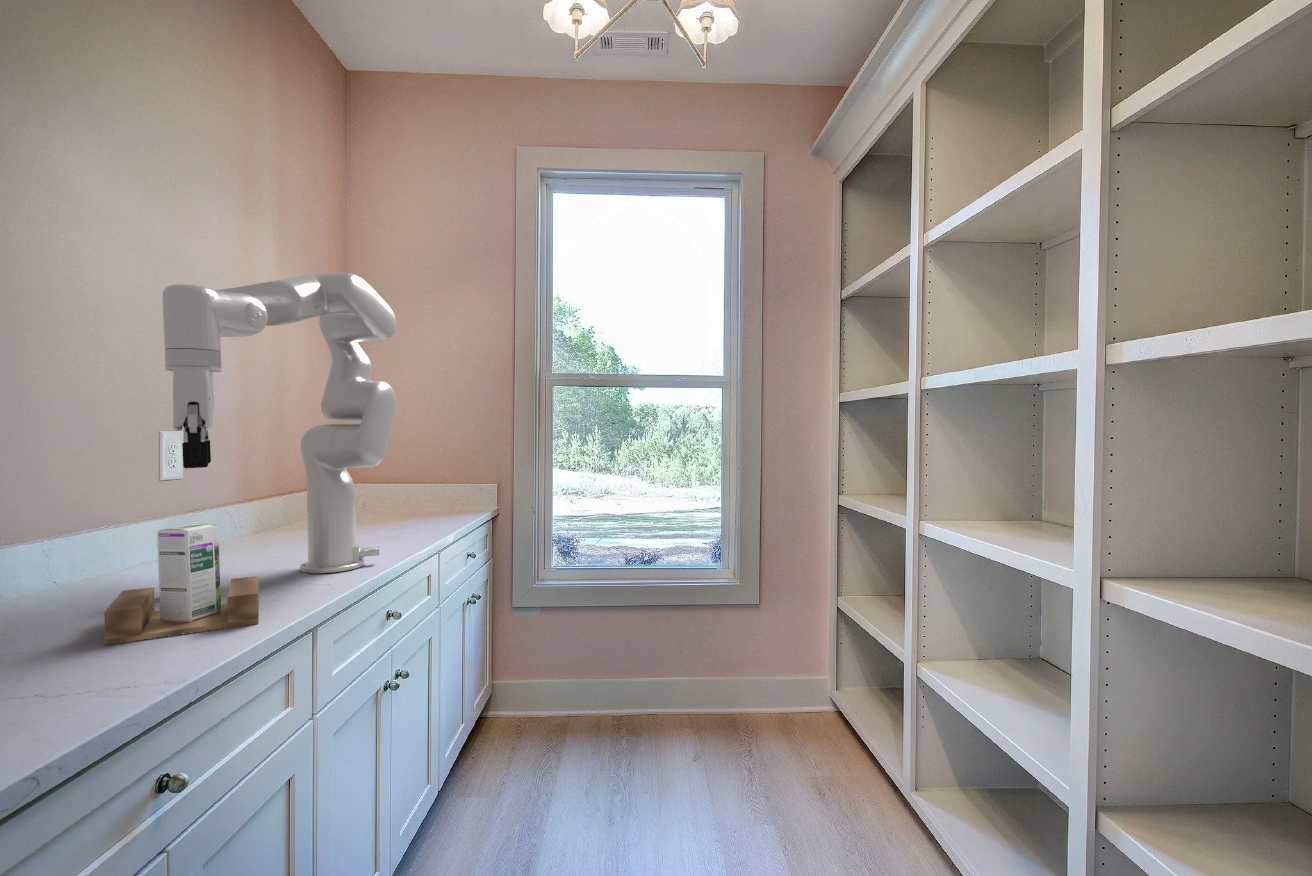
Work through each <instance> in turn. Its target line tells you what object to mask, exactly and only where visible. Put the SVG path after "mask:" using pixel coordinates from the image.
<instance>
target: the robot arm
mask: <svg viewBox="0 0 1312 876" xmlns="http://www.w3.org/2000/svg"><path fill="white" fill-rule="evenodd" d="M161 298H162V316H163V321H162V322H163V338H164V340H163V342H164V343H163V344H164V347H163V348H164V365H165V371H169V372H170V371H171V372H173V374H172V410H173V411H172V414H173V415H172V419H173V421H172V426H173V429H174V431H176V432H179V431H183V442H182V444H181V445H182V465H183V466H182V467H183V468H184V469H199V468H207V467H209V464H211V462H212V457H211V456H212V454H211V439H209V430H210V429H212V428H213V421H214V409H215V408H214V405H215V404H214V403H215V402H214V400H215V399H214V397H215V396H214V395H215V394H214V373H219V372H222V352H221V351H222V347H221V338H224V337H225V338H226V337H227V338H235V337H236V338H237V337H240V338H241V337H251V336H255V335H256V334H259V333H261V332H263V330H264V329H265V328H266V327H274V326H283V325H285V326H286V325H291V324H296V323H299V322H302V321H305V320H309V319H312V318H313V319H314V318H316V317H319V322H318V323H319V328H320V331H321V335H323V339H324V340H325V342H326V343H327V346H328V350H329V351H330V355H331V366H330V368H329V369H330V370H329V374H328V377H327V380H326V383H325V384H326V385H325V388H324V389H323V390H324V391H323V394H322V398H321V403H320V410H321V413H322V415H323V417H324V418H325V419H326V420H328V421H331V422H335V424H333V423H330V424H327V423H326V424H320V425H316V426H313V427H310V428H309V429H307V430H306V431H305V432H304V434H303V435H302V438H301V442H300V451H301V456H302V460H303V464H304V471H305V477H306V493H307V494H306V509H307V510H306V512H307V514H306V515H307V517H306V518H307V561H305V562H302V563H301V564H300V565H299V571H301V572H302V573H308V574H332V573H337V572H338V573H341V572H345V571H347V572H348V571H352V570H355V569H358V568H361V567H363V566H364V564H365V560H364V557H375V556H377V557H378V556H380V548H379V546H373V547H372V546H367V547H363V546H361V547H360V546H359V545H358V543H357V534H356V533H357V528H356V527H357V526H356V525H357V522H356V521H357V520H356V485H355V482H354V480H353V477H352V476H351V475H350V473H349V471H348V470H347V469H350V468H351V469H356V468H357V469H359V468H360V469H363V468H366V469H367V468H374V467H377V466H378V465H380V464H381V463H382V462H383V461H384V459H385V456H386V454H387V452H388V449H389V444H390V440H391V439H390V438H391V434H392V430H393V427H394V426H393V425H394V422H395V418H396V412H397V396H396V394H395V393H396V392H395V391H394V389H393V388H392V386H391V385H390V384H388V382H385V381H381V380H371V376H372V371H373V367H372V362H371V360H370V358H369V357H368V355H367V353H366V352H365V350H363V349H362V347H361V346H360V344H359V343H360V342H383V341H387V340H390V339H391V338H392V337H394V335H395V334H396V330H397V326H398V325H397V318H396V315H395V314H394V311H393V310H392V308H391V307H390V306H389V304H388V303H387V302H386V301H385V300H384V299H383V298H382V296H380V294H379V293H377V291H376V290H375V289H374V288H373V287H372V286H371V285H370V284H369V283H368V282H367V281H365V280H364V279H363V278H362V277H359V276H358V275H357V274H354V273H353V272H352V273H351V272H335V273H332V272H331V273H328V272H327V273H313V274H305V275H300V276H295V277H288V278H283V279H278V280H271V281H266V282H257V283H252V284H249V285H242V286H236V287H229V288H221V289H212V288H209V287H206V286H202V285H194V284H171V285H168V286H166V287H164V288H163V292H162V297H161ZM358 342H359V343H358ZM336 423H337V424H336ZM344 423H345V424H344ZM349 423H350V424H349ZM353 423H357V424H353ZM359 423H360V424H359Z"/></svg>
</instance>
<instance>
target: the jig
mask: <svg viewBox="0 0 1312 876" xmlns="http://www.w3.org/2000/svg"><path fill="white" fill-rule="evenodd" d="M259 592H260V591H259V575H256V576H247V577H238V578H237V577H236V578H230V582H229V587H228V592H227V597H226V598H227V599H226V600H227V601H226V602H221V611H220V612H219V613H215V614H212V615H209V616H206V617H203V618H200V619H196V620H194V621H192V622H173V621H164V620H161V619H160V610H158V611H155V587H146V588H135V589H134V588H133V589H126V590H122V591H120V593H119V594H118V595H117V597H116V598H115V599H114V600H113V601H112V602H111V603H110V604H109V606H108V607H107V608H106V609H105V611H103V613H104V614H103V615H104V616H103V617H104V646H109V645H116V644H117V645H118V644H124V643H123V642H125V643H130V642H131V641H132V642H136V641H135V640H139V641H145V640H144V639H147V640H151V639H152V638H154V639H157V638H156V637H161V638H165V637H164V636H168V635H175V636H178V635H177V634H182V633H189V634H192V633H191V632H196V633H201V632H202V631H203V632H208V631H207V630H210V631H216V629H217V630H223V629H222V628H224V629H230V628H238V627H245V626H246V627H247V626H251V625H252V626H253V625H258V624H259V619H260V618H259V614H260V613H259V611H260V610H259V609H260V608H259V605H260V603H259V602H260V598H259V595H260V594H259ZM182 635H183V634H182ZM168 637H169V636H168ZM152 640H153V639H152ZM132 642H131V643H132Z"/></svg>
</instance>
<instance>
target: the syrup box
mask: <svg viewBox="0 0 1312 876" xmlns="http://www.w3.org/2000/svg"><path fill="white" fill-rule="evenodd" d="M219 532H220V531H219V525H218V524H214V523H194V524H193V523H191V524H186V525H181V526H174V527H170V528H167V527H166V528H163V529H158V530H157V531H156V537H157V558H158V559H157V561H158V562H157V565H158V588H159V589H158V590H159V591H158V593H159V611H160V619H161V620H164V621H173V622H192V621H194V620H196V619H200V618H203V617H206V616H209V615H212V614H215V613H219V612H220V611H221V603H222V602H221V601H222V599H221V597H222V596H221V571H220V568H221V567H220V565H221V564H220V563H221V562H220V540H219V539H220V537H219V535H220V534H219Z"/></svg>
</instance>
